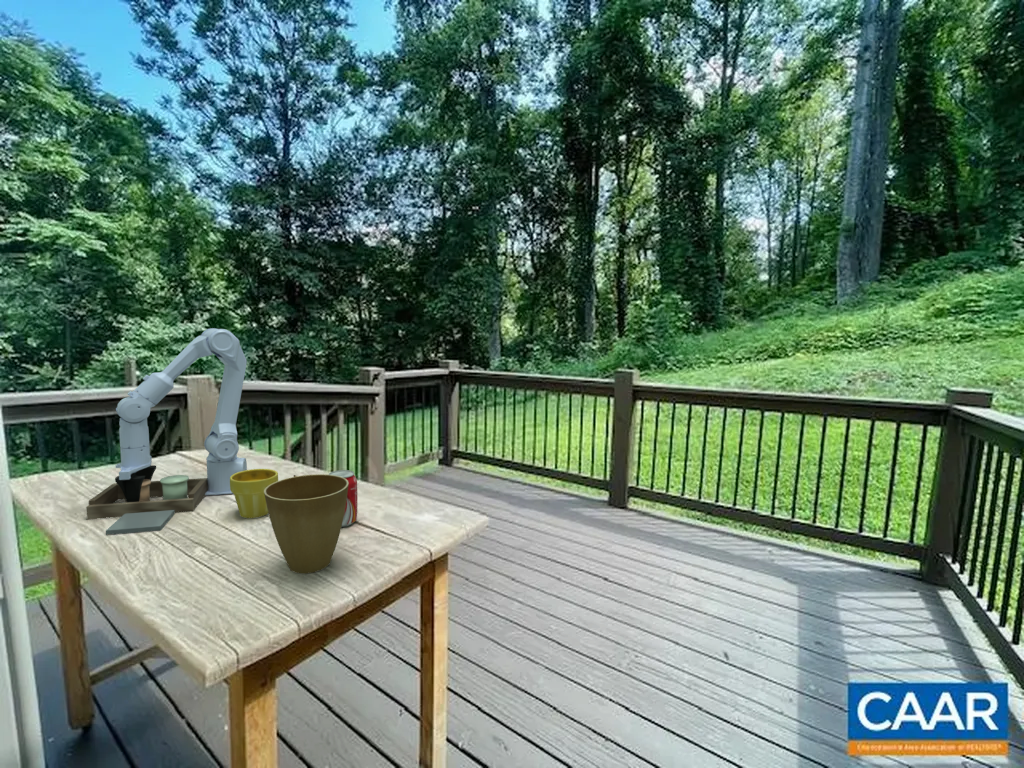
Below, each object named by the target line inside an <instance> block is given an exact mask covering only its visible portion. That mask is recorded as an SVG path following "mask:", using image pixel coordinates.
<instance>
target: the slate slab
mask: <svg viewBox="0 0 1024 768" xmlns="http://www.w3.org/2000/svg"><path fill="white" fill-rule="evenodd" d="M174 515H176V513H175V510H167V511H154V512H140V513H127V514H124V515H123V516H122V517H118V519H117V520H116V521H115V522H113V523H112V524H111V525H110V526H109V527H108V528H107V529H106V530H105V535H106V536H108V535H107V534H113V535H122V534H135V533H146V532H156V531H157V532H158V531H159V532H160V531H161V530H162V529H163V528H164V527H165V526H166V525H167V523H169V522H170V520H171V519H172V518H173V516H174ZM174 517H175V516H174Z"/></svg>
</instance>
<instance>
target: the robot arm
mask: <svg viewBox="0 0 1024 768" xmlns="http://www.w3.org/2000/svg"><path fill="white" fill-rule="evenodd" d="M212 355H214V356H216V357H217V358H218V360H219V361H220V362H221V363H222V364H223V365H224V367H223V374H222V379H221V384H220V385H221V386H220V389H219V396H218V401H217V408H216V411H215V416H214V422H213V424H212V425H211V428H210V431H209V434H208V435H207V436H206V438H204V439H205V440H204V443H203V444H204V449H205V450H206V451H207V452H208V455H207V456H206V478H207V482H208V491H207V492H206V493H205V495H206V496H216V495H217V496H218V495H232V494H233V495H234V493H232V492H231V490H230V477H231V476H232V475H233V474H235V473H237V472H241V471H245V470H248V467H247V466H248V463H247V458H246V457H238V456H237V455H238V453H239V450H240V445H239V443H238V431H237V419H238V414H239V408H240V404H241V397H242V392H243V385H244V380H245V374H246V369H247V364H248V363H247V362H248V361H247V358H246V356H245V354H244V351H243V349H242V347H241V344H240V340H239V338H238V337H236V336H235V335H234V333H232V331H230V330H229V329H228V330H227V329H224V328H215V327H214V328H213V327H212V328H206V329H205V330H204V331H203V332H202V333H201V334H200V335H198V336H196V337H195V338H194V339H193V340H192V341H190V342H189V343H188V344H187V345H186V347H184V349H182V350H181V351H180V353H178V355H177V356H176V357H175V358H174V359H173V360H172V361H171V362H170V363H169V364H168V365H167V366H166V367H165V368H164V369H162V371H160V372H152V373H150V375H148V374H145V376H143V378H142V380H143V381H142V382H141V383H140V384H139V385H138V386H137V387H136V388H135V389H134V390H133V391H131V390H129V391H128V393H127V395H128V396H127V397H124V398H122V399H121V400H120V401H118V403H117V406H116V408H115V411H116V413H117V415H118V416H119V417H120V418H119V421H118V422H119V424H118V425H119V429H118V431H119V432H118V433H119V446H120V447H119V448H120V451H119V452H120V462H119V463H116V464H115V469H120V471H119V472H118V475H117V476H115V477H114V481H115V483H117V484H118V485H119V486H120V488H121V489H122V491H123V493H124V496H125V499H124V500H125V502H126V501H127V502H139V500H140V491H141V486H142V482H143V480H144V479H149V480H151V481H152V478H153V475H154V473H155V471H156V469H157V465H155V464H154V465H152V463H153V462H152V461H153V460H152V459H153V458H152V455H151V452H150V451H151V450H150V449H151V448H150V433H149V426H148V418H149V416H150V413H151V409H152V408H154V407H156V405H158V404H159V403H160V401H162V400H163V399H164V398H165V397H166V396H167V395H168V394H169V393H170V392H171V391H172V390H173V389H174V387H175V386H174V381H175V380H176V379H177V378H178V377H179V376H180V375H181V374H182V373H183V372H184V371H185V370H187V369H188V368H189V367H190V366H191V365H192V364H193V363H195V362H196V361H197V360H199V359H201V358H205V357H209V356H212ZM149 488H150V485H149Z"/></svg>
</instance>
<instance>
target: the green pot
mask: <svg viewBox="0 0 1024 768" xmlns="http://www.w3.org/2000/svg"><path fill="white" fill-rule="evenodd" d="M189 479H190V476H189V475H186V474H175V475H170V476H164V477H162V478H160V479H159V481H160V483H161V484H162V489H163V497H162V500H171V499H186V498H188V490H187V481H188V480H189Z"/></svg>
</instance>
